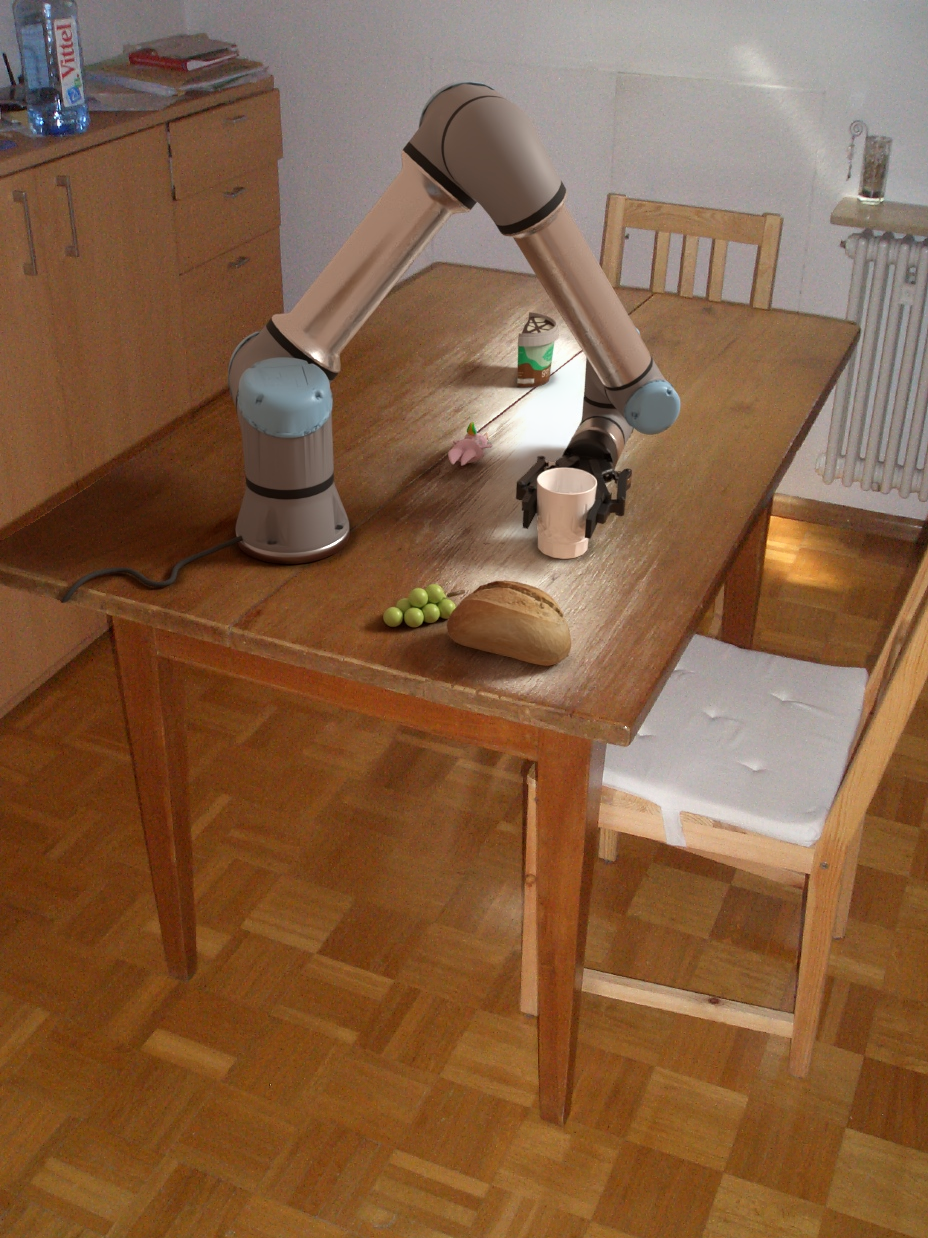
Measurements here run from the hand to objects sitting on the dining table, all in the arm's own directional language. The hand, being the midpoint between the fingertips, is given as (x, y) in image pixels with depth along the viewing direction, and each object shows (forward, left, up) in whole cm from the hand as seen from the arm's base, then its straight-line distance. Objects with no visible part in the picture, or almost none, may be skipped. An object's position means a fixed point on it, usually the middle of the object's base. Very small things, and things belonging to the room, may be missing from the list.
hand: (556, 523), depth 164 cm
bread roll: (-15, -15, -6) cm, 22 cm away
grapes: (-22, -4, -6) cm, 23 cm away
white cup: (+3, +3, -6) cm, 8 cm away
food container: (+32, +57, -6) cm, 66 cm away
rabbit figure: (+5, +33, -6) cm, 34 cm away
